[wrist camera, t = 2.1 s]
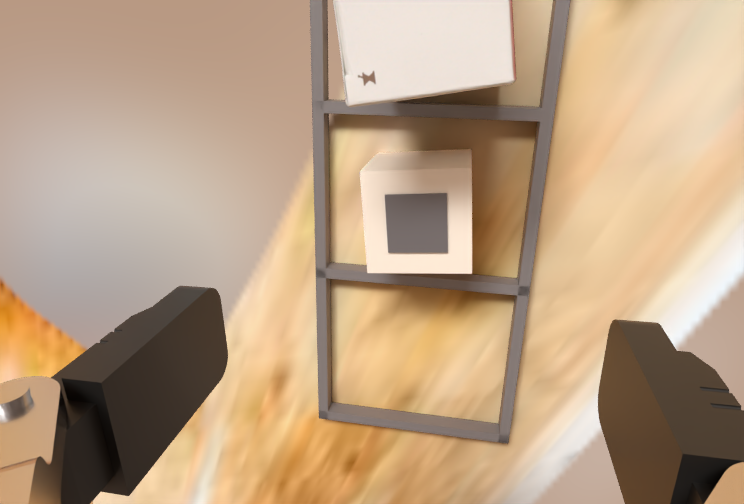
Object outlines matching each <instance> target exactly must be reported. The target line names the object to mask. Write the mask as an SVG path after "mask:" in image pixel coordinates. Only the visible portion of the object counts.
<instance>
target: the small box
mask: <svg viewBox="0 0 744 504" xmlns="http://www.w3.org/2000/svg"><path fill="white" fill-rule="evenodd" d="M333 5H334V12H335V19H336V26H337V32H338V39H339V46H340V54H341V62H342V71H343V83H344V92H345V102H346V105H347V106H348V107H357V106H364V105H372V104H379V103H387V102H394V101H401V100H409V99H416V98H423V97H430V96H437V95H443V94H450V93H457V92H463V91H470V90H477V89H483V88H490V87H496V86H503V85H510V84H512V83H514V82H515V81H516V68H515V48H514V29H513V9H512V0H333Z"/></svg>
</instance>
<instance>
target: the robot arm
mask: <svg viewBox="0 0 744 504" xmlns="http://www.w3.org/2000/svg"><path fill="white" fill-rule="evenodd" d="M227 359H228V350H227V342H226V335H225V328H224V320H223V313H222V305H221V299H220V295H219V293H218V291H217V290H216V289H214V288H205V287H192V286H191V287H190V286H179V287H177V288H176V289H175V290H173V291H172V292H171V293H169V294H168V295H167V296H165V297H164V298H163V299H162V300H160V301H159V302H158V303H157V304H155V305H154V306H153V307H151V308H149V309H146V310H144V311H142V312H140V313H138V314H135V315H133V316H131V317H130V318H129V319H127V320H126V321H125V322H123V323H122V324H121V325H119V326H118V327H117V328H115V331H114V332H110V333H109V334H108V335H106V336H105V337H104V338H102V339H101V340H100V343H96V344H95V345H93V346H92V347H91V348H89V349H88V350H87V351H85V352H84V353H83V354H81V355H80V356H79V357H77V358H76V359H75V360H74V361H72V362H71V363H70V364H68V365H67V366H66V367H64V368H63V369H62V370H60V371H59V372H58V373H57V374H55V375H54V376H53V377H51V378H49V377H42V376H32V377H24V378H19V379H14V380H11V381H7V382H4V383H1V384H0V504H93V502H92V501H93V500H94V498H95V497H96V496H97V495H98V494H99V493H100V492H107V493H114V494H120V495H126V496H129V495H130V494H131V493H132V491H133V490H134V489H135V488H136V486H137V485H138V484H139V483H140V481H141V480H142V479H143V478H144V476H145V475H146V474H147V473H148V471H149V470H150V469H151V467H152V466H153V465H154V464H155V462H156V461H157V460H158V459H159V457H160V456H161V455H162V454H163V452H164V451H165V450H166V449H167V447H168V446H169V445H170V443H171V442H172V441H173V440H174V438H175V437H176V436H177V435H178V433H179V432H180V431H181V430H182V428H183V427H184V426H185V424H186V423H187V422H188V421H189V419H190V418H191V417H192V416H193V414H194V413H195V412H196V411H197V409H198V408H199V407H200V406H201V404H202V403H203V402H204V400H205V399H206V398H207V397H208V395H209V394H210V393H211V392H212V390H213V389H214V388H215V387H216V385H217V384H218V383H219V381H220V380H221V379H222V377H223V375H224V372H225V369H226V366H227ZM598 412H599V420H600V424H601V427H602V431H603V434H604V437H605V440H606V444H607V447H608V450H609V453H610V456H611V460H612V463H613V466H614V469H615V473H616V476H617V479H618V482H619V486H620V489H621V492H622V495H623V498H624V502H625V504H744V411H742V410H741V405H740V404H739V403H738V401H737V400H736V399H735V397H734V396H733V394H732V393H729V389H728V387H727V386H726V385H725V383H724V382H723V381H722V379H721V378H720V376H719V375H718V374H717V372H716V371H715V369H713V368H712V367H710V366H709V365H708V364H706V363H705V362H703V361H702V360H701V359H699V358H698V357H696V356H695V355H694V354H692V353H691V352H683V351H682V352H681V351H677V350H676V349H675V347H674V346H673V344H672V343H671V341H670V339H669V338H668V336H667V335H666V333H665V332H664V330H663V328H662V327H661V325H660V324H658V323H653V322H640V321H627V320H613V321H612V323H611V326H610V329H609V333H608V339H607V345H606V351H605V357H604V362H603V368H602V374H601V380H600V386H599V393H598Z"/></svg>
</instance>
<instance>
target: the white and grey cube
mask: <svg viewBox="0 0 744 504" xmlns="http://www.w3.org/2000/svg"><path fill="white" fill-rule="evenodd" d="M360 183H361V196H362V209H363V222H364V235H365V248H366V261H367V273H434V274H472V149H457V150H431V151H405V152H380V153H377V154H376V155H375V156H374V157H373V158H372V159H371V160H370V161H369V162H368V163H367V164H366V165H365V166H364V167H363V168H362V169H361V170H360Z"/></svg>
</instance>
